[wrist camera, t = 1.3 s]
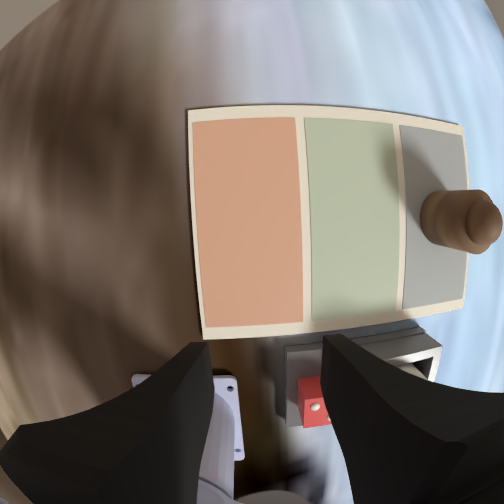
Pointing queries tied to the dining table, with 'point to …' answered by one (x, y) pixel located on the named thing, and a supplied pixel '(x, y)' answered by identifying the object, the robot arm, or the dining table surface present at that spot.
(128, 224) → the dining table surface
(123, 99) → the dining table surface
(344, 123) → the game board
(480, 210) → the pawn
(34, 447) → the robot arm
